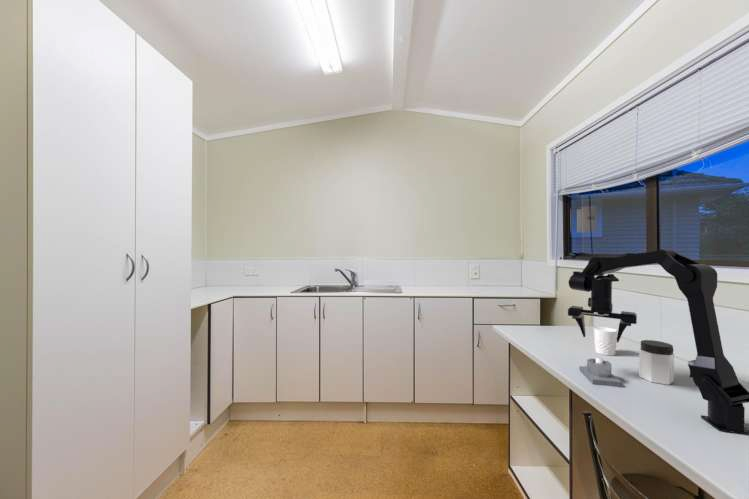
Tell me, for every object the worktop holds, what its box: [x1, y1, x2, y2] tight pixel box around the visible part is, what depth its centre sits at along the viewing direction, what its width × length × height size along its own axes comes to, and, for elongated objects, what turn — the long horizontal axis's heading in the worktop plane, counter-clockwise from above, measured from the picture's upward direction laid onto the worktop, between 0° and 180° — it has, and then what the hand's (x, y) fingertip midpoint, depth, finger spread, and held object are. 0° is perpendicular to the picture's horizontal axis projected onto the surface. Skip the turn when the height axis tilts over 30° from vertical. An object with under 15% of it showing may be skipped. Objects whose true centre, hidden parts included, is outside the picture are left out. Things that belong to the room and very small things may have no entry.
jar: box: [638, 339, 675, 386], centre depth 107 cm, size 9×8×12 cm
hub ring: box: [586, 358, 613, 378], centre depth 108 cm, size 6×6×4 cm
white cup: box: [593, 326, 618, 357], centre depth 133 cm, size 8×8×10 cm
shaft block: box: [578, 357, 623, 388], centre depth 108 cm, size 12×8×6 cm, turn 165°
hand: (600, 339), depth 109 cm, fingers open, 9 cm apart
